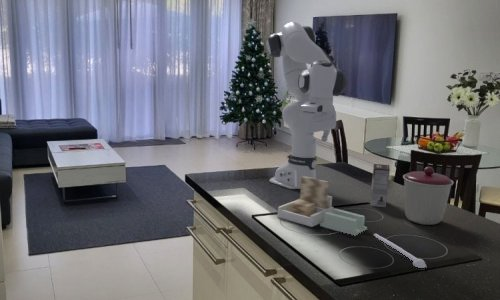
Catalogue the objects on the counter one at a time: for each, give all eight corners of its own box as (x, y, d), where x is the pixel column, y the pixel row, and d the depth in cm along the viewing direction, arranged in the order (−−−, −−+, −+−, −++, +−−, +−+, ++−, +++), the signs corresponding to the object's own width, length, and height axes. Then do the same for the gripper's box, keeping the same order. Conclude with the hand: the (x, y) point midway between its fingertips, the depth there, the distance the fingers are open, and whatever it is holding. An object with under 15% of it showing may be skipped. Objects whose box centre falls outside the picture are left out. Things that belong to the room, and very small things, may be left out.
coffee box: (369, 199, 219) (373, 163, 216) (385, 201, 218) (388, 164, 215) (370, 205, 210) (374, 168, 207) (386, 207, 209) (390, 169, 206)
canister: (388, 215, 199) (394, 162, 195) (424, 211, 206) (430, 160, 202) (420, 231, 183) (427, 174, 179) (458, 226, 190) (466, 171, 186)
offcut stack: (290, 218, 190) (291, 202, 189) (299, 214, 195) (300, 199, 193) (306, 223, 186) (307, 207, 184) (315, 219, 190) (316, 203, 189)
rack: (277, 217, 190) (278, 196, 189) (299, 208, 202) (300, 188, 200) (311, 227, 181) (313, 205, 180) (332, 217, 193) (334, 197, 191)
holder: (320, 226, 183) (321, 212, 182) (332, 220, 190) (333, 207, 189) (355, 236, 174) (356, 222, 173) (367, 229, 181) (368, 216, 180)
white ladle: (366, 236, 175) (367, 229, 175) (376, 236, 177) (377, 228, 176) (416, 271, 150) (417, 262, 149) (428, 270, 151) (429, 261, 150)
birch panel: (298, 211, 198) (301, 176, 195) (301, 210, 200) (303, 175, 197) (323, 218, 192) (326, 182, 189) (326, 217, 193) (328, 181, 190)
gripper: (327, 103, 197) (324, 138, 200) (298, 106, 181) (295, 144, 184) (341, 105, 194) (338, 140, 196) (313, 108, 178) (310, 147, 180)
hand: (317, 142), depth 190 cm, fingers open, 8 cm apart
